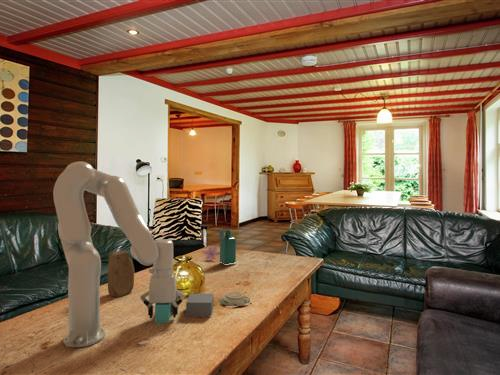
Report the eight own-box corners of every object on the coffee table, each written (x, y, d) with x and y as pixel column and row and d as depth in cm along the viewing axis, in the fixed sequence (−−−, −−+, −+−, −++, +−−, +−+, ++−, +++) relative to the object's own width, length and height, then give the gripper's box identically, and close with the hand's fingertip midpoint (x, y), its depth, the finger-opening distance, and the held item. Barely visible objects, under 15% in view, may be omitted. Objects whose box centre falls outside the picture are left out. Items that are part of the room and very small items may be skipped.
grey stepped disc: (214, 307, 141) (248, 310, 138) (214, 299, 141) (248, 302, 138) (223, 295, 156) (254, 298, 153) (223, 288, 156) (255, 290, 153)
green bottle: (229, 261, 216) (229, 228, 215) (237, 264, 210) (237, 229, 209) (216, 263, 210) (217, 229, 209) (224, 266, 203) (224, 231, 203)
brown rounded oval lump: (113, 298, 148) (114, 254, 148) (106, 294, 153) (106, 252, 153) (136, 292, 157) (136, 250, 156) (127, 288, 161) (128, 248, 161)
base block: (211, 317, 131) (211, 302, 131) (186, 317, 131) (186, 302, 130) (213, 307, 141) (213, 293, 141) (190, 307, 141) (190, 293, 140)
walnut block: (176, 312, 134) (176, 296, 134) (164, 313, 134) (164, 296, 134) (178, 308, 139) (178, 291, 139) (166, 308, 139) (166, 291, 139)
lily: (200, 260, 222) (198, 249, 217) (213, 251, 229) (212, 240, 224) (212, 269, 215) (210, 258, 210) (225, 259, 222) (224, 248, 217)
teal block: (168, 322, 125) (168, 304, 125) (154, 323, 125) (155, 305, 124) (170, 317, 130) (170, 299, 130) (157, 317, 130) (157, 300, 129)
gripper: (137, 275, 122) (137, 321, 123) (185, 274, 124) (184, 320, 125) (142, 269, 130) (142, 313, 130) (187, 268, 131) (186, 311, 132)
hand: (163, 316), depth 127 cm, fingers open, 8 cm apart
